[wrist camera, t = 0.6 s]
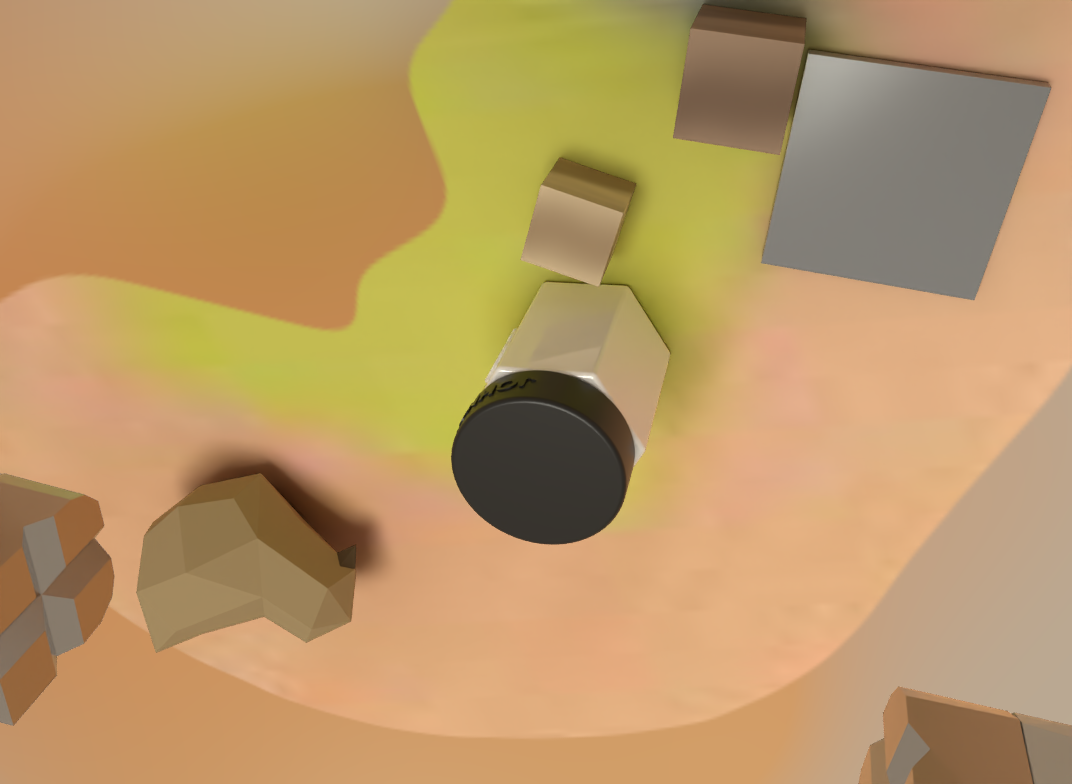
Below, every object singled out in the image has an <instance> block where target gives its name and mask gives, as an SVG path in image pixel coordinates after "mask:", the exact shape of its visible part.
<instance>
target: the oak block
mask: <svg viewBox="0 0 1072 784" xmlns="http://www.w3.org/2000/svg"><path fill="white" fill-rule="evenodd" d="M635 186H636V183H633V182H630V181H627V180H624V179H621V178H618V177H615V176H612V175H610V174H607V173H604V172H601V171H598V170H595V169H592V168H589V167H586V166H583V165H580V164H577V163H574V162H572V161H569V160H566V159H563V158H559V159H558V161H557V162H556V164H555V165H554V167H553V168H552V170H551V171H550V173H549V174H548V176H547V177H546V178H545V180H544V181H543V183H542V184H541V187H540V191H539V195H538V198H537V202H536V206H535V209H534V213H533V217H532V220H531V224H530V228H529V231H528V235H527V239H526V242H525V246H524V249H523V253H522V257H521V260H523V261H526V262H529V263H531V264H534V265H537V266H540V267H543V268H546V269H549V270H551V271H554V272H557V273H560V274H563V275H566V276H569V277H571V278H574V279H577V280H580V281H583V282H586V283H589V284H592V285H594V286H597V287H599V285H600V283H601V281H602V278H603V276H604V274H605V271H606V269H607V267H608V264H609V262H610V260H611V257H612V255H613V252H614V249H615V246H616V243H617V240H618V237H619V234H620V231H621V228H622V225H623V222H624V219H625V216H626V213H627V210H628V207H629V204H630V201H631V198H632V195H633V192H634V189H635Z"/></svg>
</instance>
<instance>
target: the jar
mask: <svg viewBox="0 0 1072 784" xmlns="http://www.w3.org/2000/svg"><path fill="white" fill-rule="evenodd" d="M669 359H670V352H669V350H668V349H667V347H666V345H665V344H664V342H663V341H662V339H661V337H660V336H659V334H658V333H657V331H656V329H655V328H654V326H653V325H652V323H651V321H650V320H649V318H648V317H647V315H646V313H645V312H644V310H643V309H642V307H641V305H640V304H639V302H638V301H637V299H636V298H635V296H634V294H633V293H632V291H631V290H630V288H629V287H628V286H622V285H601V284H600V285H599V287H597V286H594V285H592V284H580V283H559V282H544V283H543V284H542V285H541V287H540V289H539V290H538V292H537V294H536V296H535V297H534V299H533V301H532V303H531V304H530V306H529V308H528V310H527V312H526V313H525V315H524V317H523V319H522V320H521V322H520V324H519V326H518V327H517V328H514V329H513V331H512V333H511V334H510V336H509V338H508V340H507V341H506V343H505V345H504V347H503V349H502V350H501V352H500V354H499V356H498V357H497V359H496V361H495V363H494V365H493V366H492V368H491V370H490V372H489V374H488V375H487V377H486V379H485V381H486V385H485V387H484V389H483V390H482V392H481V393H480V394H479V395H478V397H477V398H476V399H475V401H474V403H472V404H471V405H470V407H469V409H468V410H467V412H466V413H465V415H464V417H463V419H462V421H461V422H460V425H459V426H460V427H459V429H458V430H457V433H456V436H455V439H454V442H453V447H452V455H451V461H452V470H453V474H454V478H455V480H456V483H457V485H458V488H459V490H460V492H461V493H462V495H463V497H464V498H465V500H466V501H467V502H468V504H469V505H470V506H471V507H472V508H473V510H474V511H475V512H476V513H477V514H478V515H479V516H480V517H482V518H483V519H484V520H485V521H487V522H488V523H489V524H491V525H492V526H494V527H495V528H497V529H499V530H500V531H502V532H504V533H506V534H508V535H511V536H513V537H516V538H519V539H522V540H525V541H529V542H533V543H539V544H567V543H573V542H577V541H580V540H583V539H586V538H589V537H591V536H593V535H595V534H597V533H598V532H600V531H601V530H603V529H604V528H605V527H606V526H607V525H609V524H610V523H611V522H612V520H613V519H614V518H615V517H616V515H617V514H618V512H619V511H620V509H621V507H622V504H623V502H624V499H625V495H626V492H627V488H628V484H629V481H630V477H631V474H632V470H633V467H634V466H635V464H636V463H637V462H638V460H639V459H640V458H641V456H642V455H643V454H644V452H645V450H646V446H647V442H648V439H649V435H650V431H651V427H652V423H653V420H654V416H655V412H656V408H657V404H658V401H659V397H660V393H661V389H662V385H663V382H664V378H665V374H666V370H667V366H668V363H669Z"/></svg>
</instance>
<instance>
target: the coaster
mask: <svg viewBox="0 0 1072 784" xmlns="http://www.w3.org/2000/svg"><path fill="white" fill-rule="evenodd" d="M1050 90H1051V87H1050V85H1049V84H1048V83H1045V82H1038V81H1031V80H1024V79H1017V78H1010V77H1002V76H995V75H988V74H981V73H974V72H967V71H959V70H952V69H945V68H938V67H931V66H924V65H916V64H909V63H902V62H895V61H888V60H881V59H873V58H866V57H859V56H852V55H845V54H838V53H830V52H823V51H816V50H808V55H807V59H806V64H805V68H804V72H803V77H802V81H801V86H800V90H799V95H798V99H797V104H796V108H795V113H794V117H793V121H792V126H791V130H790V135H789V139H788V144H787V148H786V153H785V157H784V161H783V166H782V170H781V175H780V179H779V184H778V188H777V193H776V197H775V202H774V206H773V210H772V215H771V219H770V224H769V228H768V233H767V237H766V242H765V246H764V251H763V255H762V262H761V263H764V264H770V265H775V266H781V267H787V268H792V269H798V270H804V271H810V272H815V273H821V274H827V275H833V276H838V277H844V278H850V279H855V280H861V281H867V282H873V283H878V284H884V285H890V286H896V287H901V288H907V289H913V290H918V291H924V292H930V293H936V294H941V295H947V296H953V297H959V298H964V299H970V300H975V297H976V294H977V291H978V288H979V286H980V283H981V280H982V277H983V275H984V272H985V269H986V266H987V264H988V261H989V258H990V255H991V253H992V250H993V247H994V244H995V242H996V239H997V236H998V233H999V231H1000V228H1001V225H1002V222H1003V220H1004V217H1005V214H1006V211H1007V209H1008V206H1009V203H1010V200H1011V198H1012V195H1013V192H1014V189H1015V187H1016V184H1017V181H1018V178H1019V176H1020V173H1021V170H1022V167H1023V165H1024V162H1025V159H1026V156H1027V154H1028V151H1029V148H1030V145H1031V142H1032V140H1033V137H1034V134H1035V131H1036V129H1037V126H1038V123H1039V120H1040V118H1041V115H1042V112H1043V109H1044V107H1045V104H1046V101H1047V98H1048V96H1049V93H1050Z"/></svg>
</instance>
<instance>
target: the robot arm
mask: <svg viewBox="0 0 1072 784" xmlns="http://www.w3.org/2000/svg"><path fill="white" fill-rule="evenodd" d="M103 527H104V522H103V518H102V514H101V510H100V506H99V502H98V501H97V500H95V499H93V498H91V497H89V496H86V495H84V494H80V493H76V492H72V491H69V490H65V489H61V488H57V487H54V486H50V485H46V484H42V483H38V482H35V481H31V480H27V479H23V478H20V477H16V476H12V475H8V474H5V473H4V474H1V473H0V722H1V723H5V724H9V725H15V723H16V722H17V721H18V720H19V718H21V716H22V715H23V714H24V713H25V712H26V711H27V709H28V708H29V707H30V706H31V705H32V704H33V703H34V701H35V700H36V699H37V698H38V697H39V695H40V694H41V693H42V692H43V691H44V690H45V688H46V687H47V686H48V685H49V684H50V683H51V682H52V680H53V679H54V678H55V677H56V676H57V656H58V655H60V654H62V653H65V652H67V651H69V650H71V649H73V648H75V647H78V646H80V645H82V644H84V643H85V642H86V641H87V639H88V638H89V637H90V636H91V634H92V633H93V632H94V631H95V629H96V628H97V627H98V625H100V623H101V622H102V619H103V617H104V615H105V612H106V610H107V608H108V605H109V603H110V601H111V598H112V595H113V584H114V571H113V566H112V560H111V557H110V556H109V555H108V554H107V552H106V551H105V550H104V549H103V548H102V546H101V545H100V544H99V543H98V542H97V541H96V539H95V537H96V536H97V535H98V533H99V532H100V531H101V530H102V528H103ZM883 722H884V738H883V739H881V740H880V741H878V742H875V743H873V744H872V745H870V747H869V749H868V752H867V755H866V758H865V760H864V763H863V766H862V769H861V774H860V778H859V783H858V784H1072V726H1071V725H1067V724H1063V723H1058V722H1054V721H1049V720H1045V719H1040V718H1036V717H1032V716H1027V715H1023V714H1018V713H1009V712H1008V711H1004V710H1000V709H996V708H991V707H987V706H983V705H978V704H974V703H970V702H965V701H961V700H956V699H952V698H948V697H943V696H939V695H934V694H930V693H925V692H921V691H916V690H912V689H908V688H903V687H898V688H897V689H896V690H895V691H894V692H893V693H892V694H891V696H890V699H889V701H888V703H887V706H886V708H885V710H884V712H883Z"/></svg>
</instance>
